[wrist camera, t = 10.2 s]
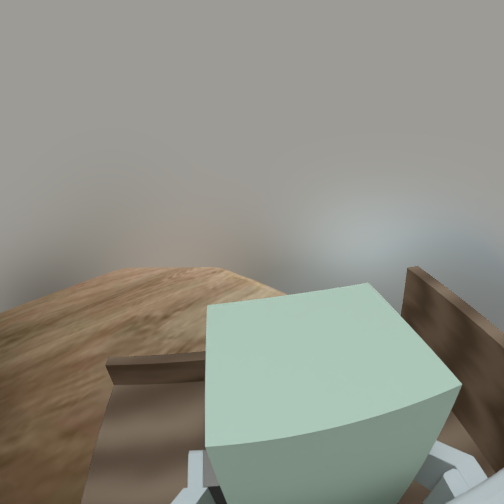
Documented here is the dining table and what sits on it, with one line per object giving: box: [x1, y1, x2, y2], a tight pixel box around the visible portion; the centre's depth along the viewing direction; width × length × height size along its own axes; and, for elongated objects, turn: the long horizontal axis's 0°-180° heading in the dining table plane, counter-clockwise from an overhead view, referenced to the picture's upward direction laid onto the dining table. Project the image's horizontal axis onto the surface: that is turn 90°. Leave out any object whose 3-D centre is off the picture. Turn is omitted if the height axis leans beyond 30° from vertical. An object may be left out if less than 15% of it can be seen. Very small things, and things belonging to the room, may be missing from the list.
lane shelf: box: [81, 266, 504, 504], centre depth 18 cm, size 19×29×10 cm, turn 96°
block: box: [205, 283, 462, 504], centre depth 9 cm, size 5×5×12 cm
